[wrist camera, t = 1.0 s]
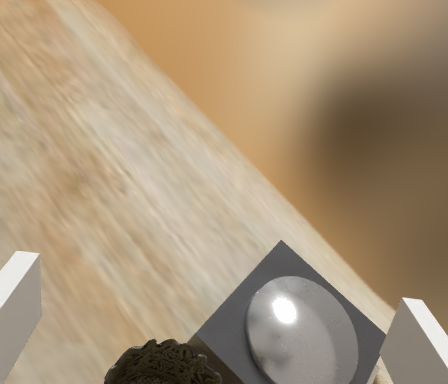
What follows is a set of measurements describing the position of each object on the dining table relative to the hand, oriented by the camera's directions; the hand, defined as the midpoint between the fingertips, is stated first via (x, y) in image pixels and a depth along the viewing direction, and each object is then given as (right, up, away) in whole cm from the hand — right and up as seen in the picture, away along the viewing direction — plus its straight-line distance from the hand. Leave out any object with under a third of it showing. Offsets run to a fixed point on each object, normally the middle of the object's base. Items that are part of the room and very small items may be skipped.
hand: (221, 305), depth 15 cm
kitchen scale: (+5, -10, +21) cm, 24 cm away
